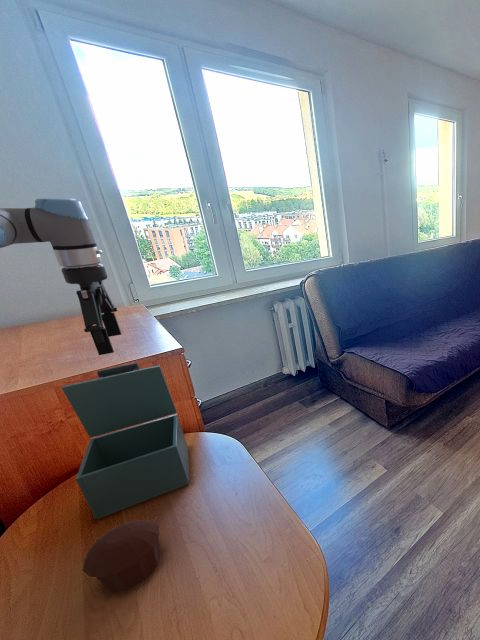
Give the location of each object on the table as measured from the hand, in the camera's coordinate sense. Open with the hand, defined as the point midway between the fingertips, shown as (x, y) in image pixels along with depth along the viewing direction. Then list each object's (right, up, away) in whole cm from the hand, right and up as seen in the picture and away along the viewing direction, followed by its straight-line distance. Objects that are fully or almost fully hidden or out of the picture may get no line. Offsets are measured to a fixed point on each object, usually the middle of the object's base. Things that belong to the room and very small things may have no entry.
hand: (111, 344), depth 89 cm
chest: (+8, -37, +2) cm, 38 cm away
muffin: (+23, -46, -19) cm, 55 cm away
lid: (+5, -15, -1) cm, 16 cm away
